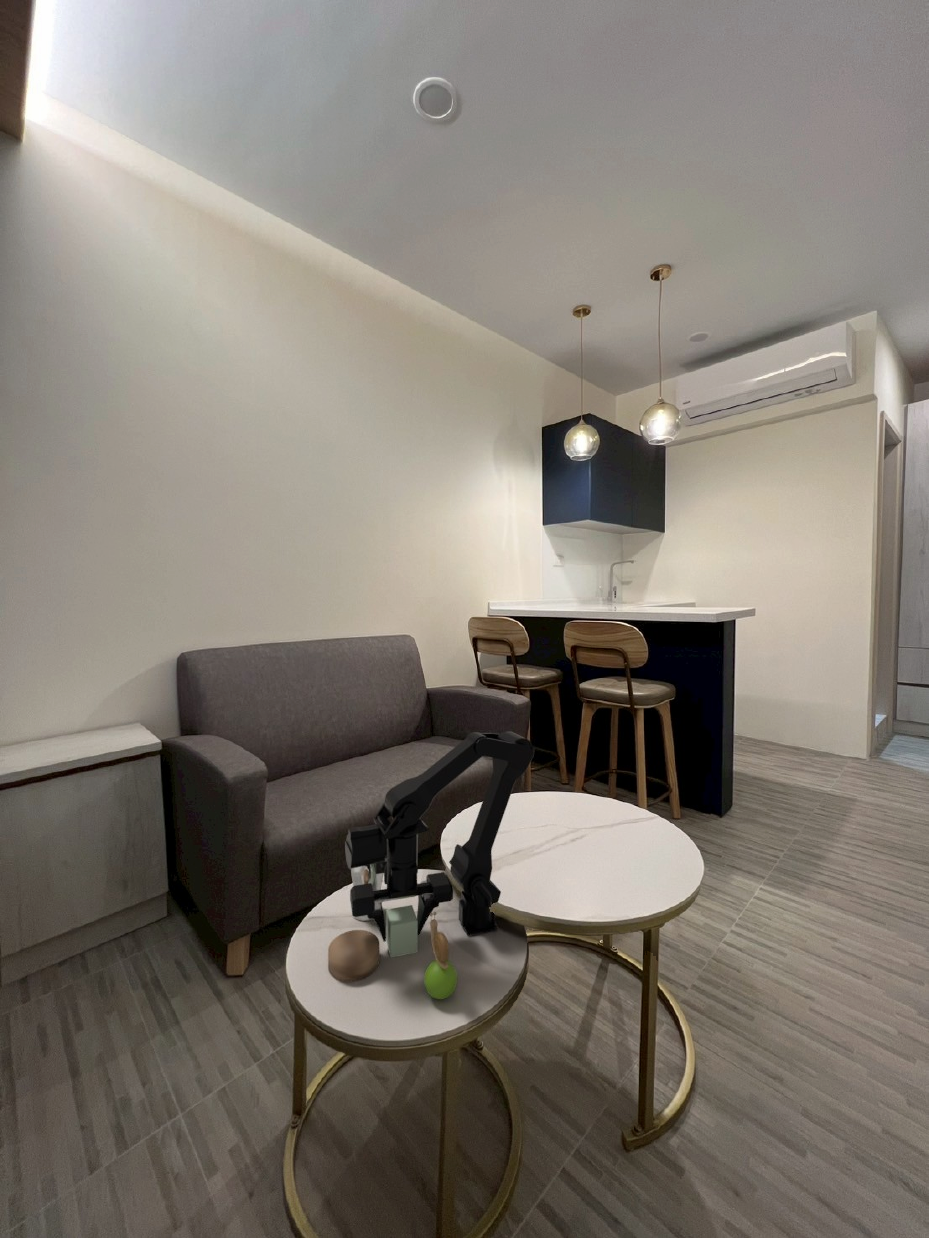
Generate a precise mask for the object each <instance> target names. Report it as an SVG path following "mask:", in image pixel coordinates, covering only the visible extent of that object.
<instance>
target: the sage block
mask: <svg viewBox="0 0 929 1238" xmlns="http://www.w3.org/2000/svg"><path fill="white" fill-rule="evenodd" d="M417 926H418V921H417V914H416V913H415V909H414V906H413V905H411V904H410V905H405V906H400V907H394V908H388V909H386V921H385V929H386V944H387V948H388V952H389V953H388V954H389V956H390V958H393V957H394V958H395V957H399V956H404V955H410V954H414V953H418V935H417Z"/></svg>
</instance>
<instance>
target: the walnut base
mask: <svg viewBox="0 0 929 1238" xmlns="http://www.w3.org/2000/svg"><path fill="white" fill-rule="evenodd" d="M327 950H328V951H327V954H328V955H327V957H328V958H327V961H328V962H327V964H328V965H327V969H328V972H329V974H330V975H331V977H333V978H334V979H336V980H337V981H341V982H348V983H349V982H357V981H360V980H363V979H364V980H365V978H367V977H369V976H371V975H372V974H373V973H374V972H376V970H377V968H378V967H379V963H380V940H379V938H378V936H377V935H376V934H374V933H373V932H371V931H368V930H364V929H352V930H348V931H345V932H343V933H341V934H339V935H338V936H336V937H335V938H334V939H332V941H331V942H330V943H329V946H328V948H327Z"/></svg>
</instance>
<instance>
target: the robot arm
mask: <svg viewBox="0 0 929 1238" xmlns="http://www.w3.org/2000/svg"><path fill="white" fill-rule="evenodd" d="M465 737H466V738H465V739H463V740H462V741H461V742H460V743H459V744H457V745H456V746H454V748H451V750H450V751H449V752H448V753H446V754H445V755H444V756H442V757H441V758H439V760H437V761H436V762H435V763H433V764H432V765H431V766H430V767H428V769H426V770H425V771H424V772H422V773H421V774H419V775H418V776H413V777H410V778H407V779H405V780H404V781H401V782H400V783H398V784H396V785H395V786H393V787H391V788H390V789H389V790H388V791H387V792H386V794H385V797H384V802H383V803H382V805H381V807H379V810H378V811H377V813H376V814H375V816H374V817H373V821H374V823H375V824H370V825H369V824H368V825H365V826H364V825H363V826H351V827H349V828H348V832H347V833H348V834H347V835H346V840H345V841H344V849H345V850H344V852H345V860H346V865H347V867H348V869H349V870H351V869H352V868H357V867H361V866H366V865H371V864H374V869H375V873H376V874H381V873H384V874H383V883H384V885H386V888H384V889H382V888H381V890H376V891H373V888H372V884H371V883H369V884H362V885H355V886H352V887H351V889H350V891H349V892H350V893H349V900H350V908H351V909H350V910H351V914H352V915H351V916H352V917H353V918H354V917H359V916H365V915H367V917H368V918H369V919H371V918H373V919H374V920H373V921H374V922H375V924H376V925H377V927H378V930H379V932H380V935H381V938H382V941H383V942H384V943H386V942H387V940H386V921H385V912H384V908H383V902H384V903H385V902H389V901H396V900H401V899H410V898H414V897H417V898H418V902H417V912H416V913H417V914H416V918H417V921H418V926H417V936H420V935H421V933H422V931H423V928H424V926H425V925H426V924H427V923H426V922H427V921H428V918H429V917H430V913H433V912H434V909H435V908H438V907H440V903H446V902H451V901H453V899H454V888H453V885H452V883H451V881H450V879H449V877H448V875H447V873H445V871H443V872H436V873H430V874H429V873H428V874H427V875H426V879H425V880H422V881H421V882H420V883H418V873H419V866H418V856H419V855H418V847H419V845H418V842H419V840H418V839H419V834H423V833H427V832H429V830H430V828H429V827H428V825H426V823H425V822H424V821H423V820H422V819H421V818H422V817H423V815H425V813H427V811H429V809H430V807H431V805H432V803H433V800H434V799H435V797H436V796H437V795H438V794H439V793H440V792H442V790H444V789H445V788H446V787H447V786H449V785H450V784H451V783H452V782H453V781H455V780H456V779H457V778H458V777H460V776H461V775H462V774H463V773H464V772H465V771H467V770H468V769H469V768H470V767H471V766H473V765H474V764H475V763H477V761H479V760H480V759H481V758H483V757H486V758H487V757H488V758H491V759H492V773H491V774H492V775H491V777H490V780H489V782H488V785H487V788H486V790H485V794H484V797H483V799H482V802H481V805H480V809H479V810H478V814H477V817H476V820H475V822H474V824H473V828H472V831H471V834H470V837H469V838H468V840H467V841H466V842H464V844H462V845H460V844H455V847H454V852H453V855H452V857H451V858H450V860H449V862H448V863H449V864H450V868H449V869H450V872H449V873H450V874H451V876H452V878H453V880H454V881H455V883H457V885H458V886H459V888H460V889H462V890H461V899H459V900H458V921H459V923H460V926H461V927H462V928H463V929H464V931H465V934H466V935H467V936H475V935H480V934H483V933H488V932H495V931H498V930H499V926H498V924H497V922H496V913H495V914H494V913H493V912H490V909H489V907H491V905H492V904H493V903H495V904H496V903H498V902H499V900H500V897H501V894H502V892H501V890H500V889H499V887H497V885H496V884H495V883H494V882H493V881H492V880H491V877H492V872H493V858H492V856H493V855H492V851H493V850H492V849H493V846H494V844H495V841H496V838H497V835H498V832H499V829H500V826H501V824H502V821H503V817H504V815H505V812H506V809H507V806H508V803H509V800H510V797H511V795H512V792H513V789H514V786H515V783H516V781H518V779H520V777H522V775H524V774H525V773H526V771H527V770H528V768H529V766H530V764H531V762H532V760H533V758H534V755H535V748H534V746H533V743H532V742H531V741H530V740H529V739H528V738H526V737H524V736H522V735H520V734H518V733H515V732H513V731H509V730H507V731H504V732H502V733H495V732H493V733H492V732H482V733H481V732H478V731H473V732H469V733H468V734H467V736H465ZM390 817H391V818H392V821H390V820H389V819H390Z"/></svg>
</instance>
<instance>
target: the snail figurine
mask: <svg viewBox="0 0 929 1238" xmlns="http://www.w3.org/2000/svg"><path fill="white" fill-rule="evenodd" d="M436 915H437V912H436V911H433V912H431V913H430V915H429V917H433V916H434V919H430V923H429V925H430V939H431V946H432V952H433V955H434V957H435V960H433V961H432V962H431V963H430V964H429V965H428V966H427V968H426V970H425V973H424V977H423V978H424V979H423V981H424V986H425V989H426V991H427V993H428V994H429V995H430V996H431V998H434V999H436V1000H444V999H446V998H448V997H450V996H451V995H452V994H453V993H454V991H455V989H456V987H457V985H458V974H457V970H456V968H455V966H454V965H453V963H452V962H450V961H449V958H450V949H449V948H450V947H449V943H448V940H447V937H446V935H445V934H444V933H443V932H442V931H438V927H439V926H438V925H439V924H438V923H439V922H438V921H437V920H436Z"/></svg>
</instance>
